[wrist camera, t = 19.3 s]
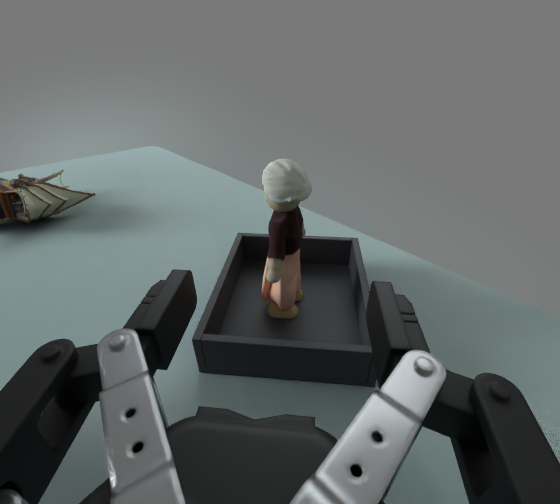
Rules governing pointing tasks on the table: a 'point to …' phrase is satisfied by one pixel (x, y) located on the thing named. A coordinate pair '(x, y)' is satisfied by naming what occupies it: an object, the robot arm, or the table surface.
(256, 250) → the pan
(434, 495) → the table surface
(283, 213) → the grandmother figurine
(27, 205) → the figurine
